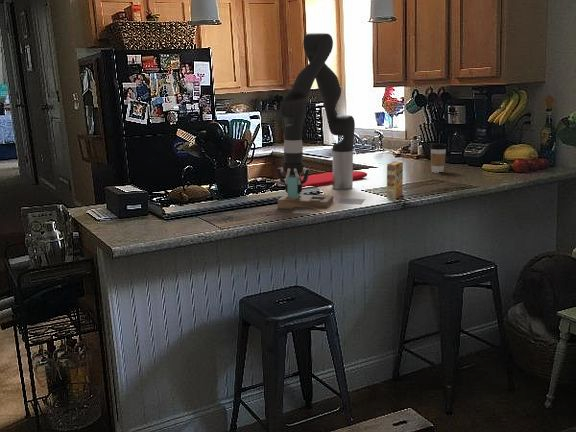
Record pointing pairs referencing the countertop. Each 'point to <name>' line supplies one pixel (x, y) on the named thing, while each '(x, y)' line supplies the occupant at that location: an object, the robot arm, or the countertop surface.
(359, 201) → the deck
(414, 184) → the countertop surface
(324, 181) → the dish drying mat
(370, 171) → the countertop surface
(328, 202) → the socket block
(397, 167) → the candy box
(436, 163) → the coffee cup
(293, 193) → the plug
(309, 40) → the robot arm
